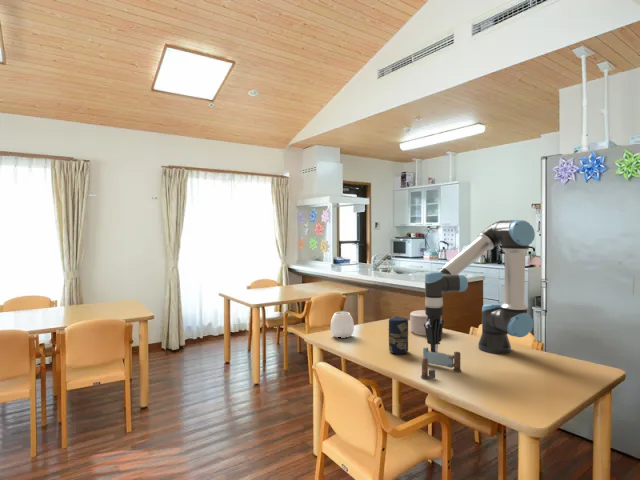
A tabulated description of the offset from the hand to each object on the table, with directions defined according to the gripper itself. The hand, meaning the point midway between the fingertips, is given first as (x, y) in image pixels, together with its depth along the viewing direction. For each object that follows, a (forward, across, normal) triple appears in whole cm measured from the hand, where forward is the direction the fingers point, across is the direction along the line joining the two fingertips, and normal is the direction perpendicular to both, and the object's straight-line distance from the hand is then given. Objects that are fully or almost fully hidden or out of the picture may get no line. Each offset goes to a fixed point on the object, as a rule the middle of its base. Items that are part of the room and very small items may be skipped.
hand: (434, 358), depth 183 cm
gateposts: (+3, +8, +9) cm, 13 cm away
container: (+4, -46, -35) cm, 59 cm away
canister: (+3, -4, -22) cm, 23 cm away
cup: (+3, -5, -63) cm, 63 cm away
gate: (+3, +1, +3) cm, 4 cm away
